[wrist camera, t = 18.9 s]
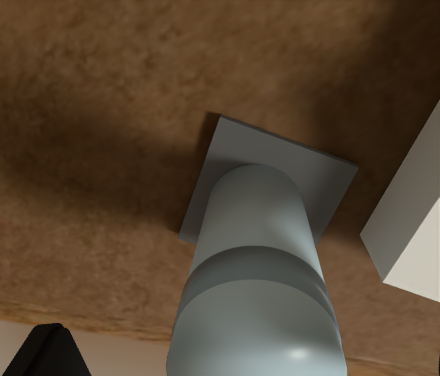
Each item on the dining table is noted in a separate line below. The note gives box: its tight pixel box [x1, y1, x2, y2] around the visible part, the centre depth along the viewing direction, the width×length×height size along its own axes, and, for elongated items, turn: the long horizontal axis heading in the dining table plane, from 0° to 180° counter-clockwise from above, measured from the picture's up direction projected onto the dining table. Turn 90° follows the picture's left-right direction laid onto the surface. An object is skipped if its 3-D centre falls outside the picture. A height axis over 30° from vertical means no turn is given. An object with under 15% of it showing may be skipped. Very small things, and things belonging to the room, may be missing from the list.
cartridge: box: [166, 164, 347, 376], centre depth 15 cm, size 5×5×10 cm
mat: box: [177, 114, 359, 248], centre depth 19 cm, size 7×7×1 cm
